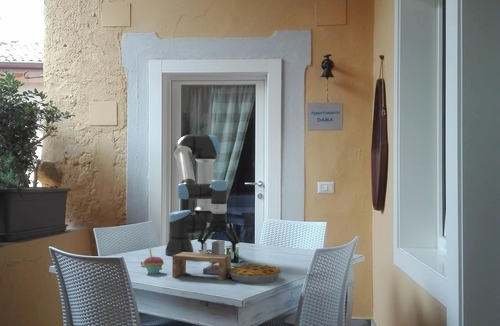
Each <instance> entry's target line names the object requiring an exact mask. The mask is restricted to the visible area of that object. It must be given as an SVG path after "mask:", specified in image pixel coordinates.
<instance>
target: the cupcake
mask: <svg viewBox="0 0 500 326" xmlns="http://www.w3.org/2000/svg"><path fill="white" fill-rule="evenodd" d="M148 247H149V249H148V250H149V257H147V258H145V259H144V260H143V261H144V265H145V266H146V267H145V268H146V270H147V274H149V275H152V274H153V275H155V274H159V273H160V270H161V269H160V268H161V266H162V267H163V265H164V260H163V259H162V258H161V257H160V256H153V255H152V248H151V247H150V245H149V246H148Z"/></svg>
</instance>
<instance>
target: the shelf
mask: <svg viewBox="0 0 500 326" xmlns="http://www.w3.org/2000/svg"><path fill="white" fill-rule="evenodd" d="M187 261H195V262H209V263H210V262H211V263H212V262H219V275H218V280H219V281H224V280H225V279H226V280H227V278H229V277H231V275H230V273H229V271H230V268H232V262H231V261H232V259H231V255H230V254H226V253H224V254H212V252H211V253H203V252H194V253H192V252H182V253H179V254H176V255H173V256H172V276H171V277H172V278H177V277H179V276H181V275H184V274H185V273H186V272H187Z"/></svg>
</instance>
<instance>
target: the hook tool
mask: <svg viewBox="0 0 500 326" xmlns="http://www.w3.org/2000/svg"><path fill="white" fill-rule="evenodd" d="M225 246H226V245H225V240H221V239H217V240H215V241H211V254H225ZM216 263H219V262H211V264H210V265H209V266H207V267H205V268H203V269H202V274H205V275H218V276H219V269H213V265H214V264H216Z"/></svg>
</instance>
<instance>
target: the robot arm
mask: <svg viewBox="0 0 500 326" xmlns="http://www.w3.org/2000/svg"><path fill="white" fill-rule="evenodd" d="M173 156H174V158H175V159H176V163H177V171H178V178H179V183H178V184H177V186H176V196H177V199H179V200H197V202H196V203H197V204H196V205H197V206H196V207H195V208H194V210H193V212H192V211H191V210H190V209H185V210H183V209H182V210H178V211H177V210H176V211H173V212H172V211H171V212H170V214H169V216H168V217H169V218H168V241H167V244H166V248H165V251H164V252H165V255H166V256H169V257H173V255H176V254H179V253H182V252H192V253H195V252H194V247H193V243H192V240H191V235H199V236H198V238H197V243H198V242H199V243H200V245H201V246H200V249H201V251H202V253H207V249H208V247H207V241H208V239H209V238H210V237H211V236H212V234H215V233H218V234H219V233H221V234H222V233H223V234H224V235H225V237H226V238H227V240H228V241H229V242H230V243H231V244H230V245H229V246H230V250H229V251H230V254H229V255H231V260H233V259H234V256H235V255H234V254H235V252H236V251H237V249H236V247H237V244H240V238H239V237H238V234H237V232H236V231H235V228H234V223H232V222H231V223H228V220H227V210H228V209H227V208H228V207H227V206H228V198H227V196H228V192H227V191H228V184H227V180H225V179H214V163H215V162H216V160H217V157H219V156H220V143H219V139H218V137H217V136H216V135H214V134H213V135H212V134H186V135H184V136H182V137H180V138H179V139H178V140H177V141H176V143H175V144H174V147H173ZM192 157H194V160H195V161H196V162H197V183H196V178H195V171H194V166H193V160H192ZM227 228H228V229H229V231H230V233H231V234H230V233H229V232H228V230H227Z"/></svg>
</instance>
